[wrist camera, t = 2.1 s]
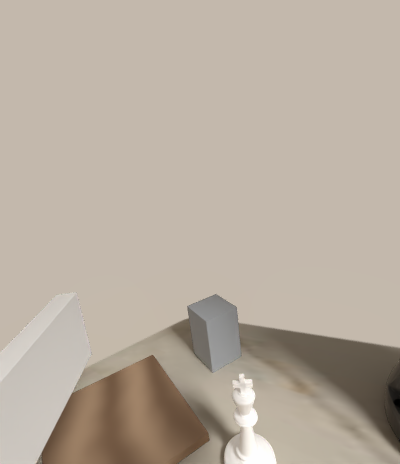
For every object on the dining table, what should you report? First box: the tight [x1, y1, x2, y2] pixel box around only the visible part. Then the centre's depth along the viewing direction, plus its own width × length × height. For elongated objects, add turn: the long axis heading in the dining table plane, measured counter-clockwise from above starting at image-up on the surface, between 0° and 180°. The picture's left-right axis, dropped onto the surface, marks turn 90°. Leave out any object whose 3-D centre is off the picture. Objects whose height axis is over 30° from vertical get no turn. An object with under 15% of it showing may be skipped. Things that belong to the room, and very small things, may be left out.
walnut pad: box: [42, 355, 209, 464], centre depth 32 cm, size 15×15×1 cm
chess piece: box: [224, 374, 276, 464], centre depth 26 cm, size 5×5×10 cm
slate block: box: [187, 294, 241, 373], centre depth 40 cm, size 5×5×8 cm
